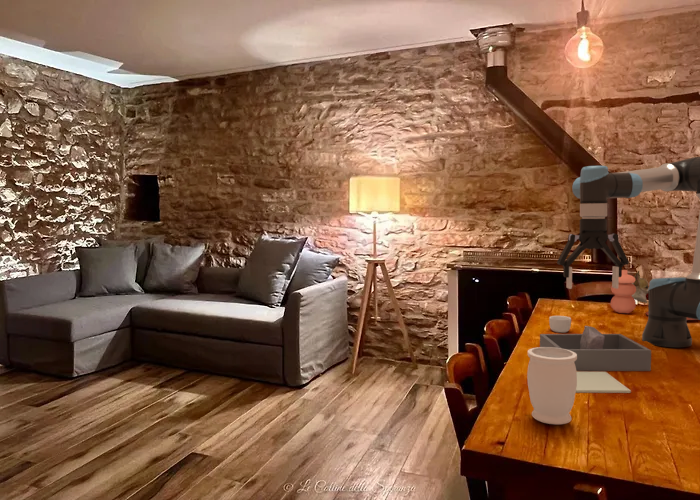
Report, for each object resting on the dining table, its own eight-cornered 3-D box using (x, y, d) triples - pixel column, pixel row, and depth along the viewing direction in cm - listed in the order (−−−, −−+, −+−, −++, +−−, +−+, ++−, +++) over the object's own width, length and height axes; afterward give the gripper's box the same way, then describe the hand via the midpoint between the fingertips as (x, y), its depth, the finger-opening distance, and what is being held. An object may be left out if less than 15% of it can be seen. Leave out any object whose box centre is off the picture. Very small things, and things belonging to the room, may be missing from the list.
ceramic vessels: (697, 312, 239) (698, 269, 237) (707, 321, 219) (708, 275, 218) (609, 307, 253) (610, 267, 251) (611, 316, 233) (612, 272, 232)
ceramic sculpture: (649, 304, 257) (650, 273, 256) (629, 303, 262) (630, 272, 261) (651, 301, 266) (652, 271, 265) (631, 300, 271) (632, 270, 270)
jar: (519, 410, 127) (520, 347, 126) (562, 408, 128) (563, 345, 126) (539, 428, 116) (539, 359, 115) (585, 426, 117) (586, 357, 116)
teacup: (568, 334, 200) (568, 320, 200) (547, 332, 204) (547, 318, 204) (573, 329, 209) (574, 315, 208) (552, 327, 213) (553, 314, 212)
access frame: (620, 352, 175) (620, 333, 175) (650, 370, 155) (651, 350, 155) (539, 352, 177) (539, 334, 177) (559, 370, 157) (559, 350, 156)
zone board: (605, 373, 153) (605, 371, 153) (630, 392, 137) (630, 390, 137) (547, 373, 154) (547, 371, 154) (565, 392, 138) (565, 390, 138)
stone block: (605, 366, 160) (605, 333, 159) (587, 366, 161) (588, 333, 160) (595, 356, 171) (595, 324, 171) (579, 355, 172) (579, 324, 172)
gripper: (630, 217, 166) (629, 286, 167) (547, 218, 167) (546, 286, 169) (642, 217, 158) (640, 289, 160) (554, 218, 160) (553, 290, 162)
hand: (592, 288), depth 164 cm, fingers open, 13 cm apart
